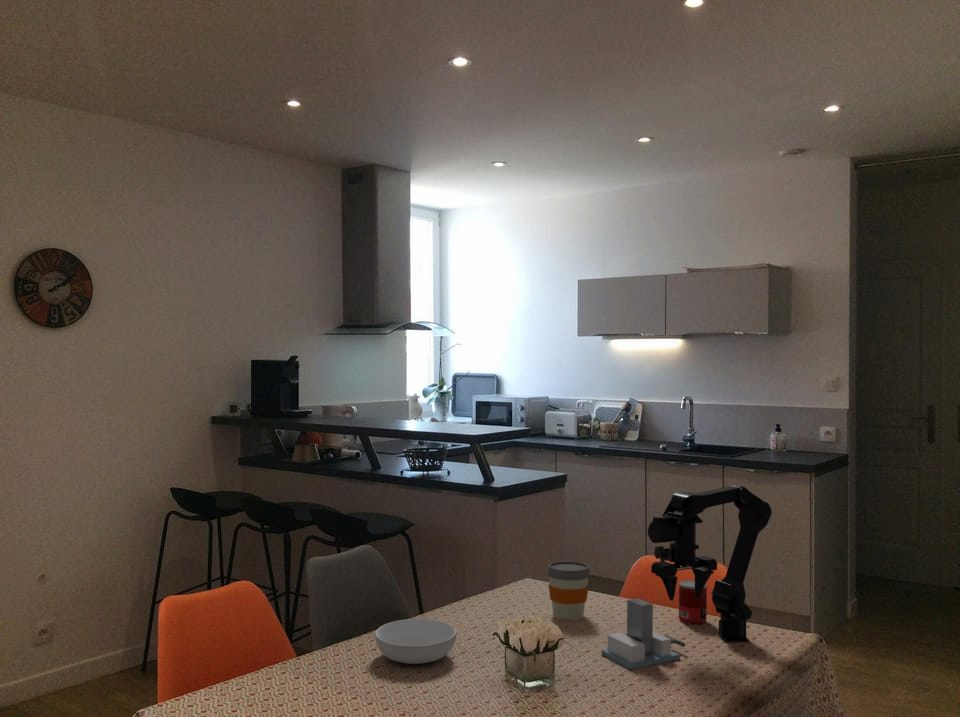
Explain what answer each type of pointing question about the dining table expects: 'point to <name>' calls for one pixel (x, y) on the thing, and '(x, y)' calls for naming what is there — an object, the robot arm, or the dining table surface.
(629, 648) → the vise
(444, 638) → the serving bowl
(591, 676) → the dining table surface
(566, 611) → the reusable coffee cup
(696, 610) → the canned food
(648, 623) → the steel bar
